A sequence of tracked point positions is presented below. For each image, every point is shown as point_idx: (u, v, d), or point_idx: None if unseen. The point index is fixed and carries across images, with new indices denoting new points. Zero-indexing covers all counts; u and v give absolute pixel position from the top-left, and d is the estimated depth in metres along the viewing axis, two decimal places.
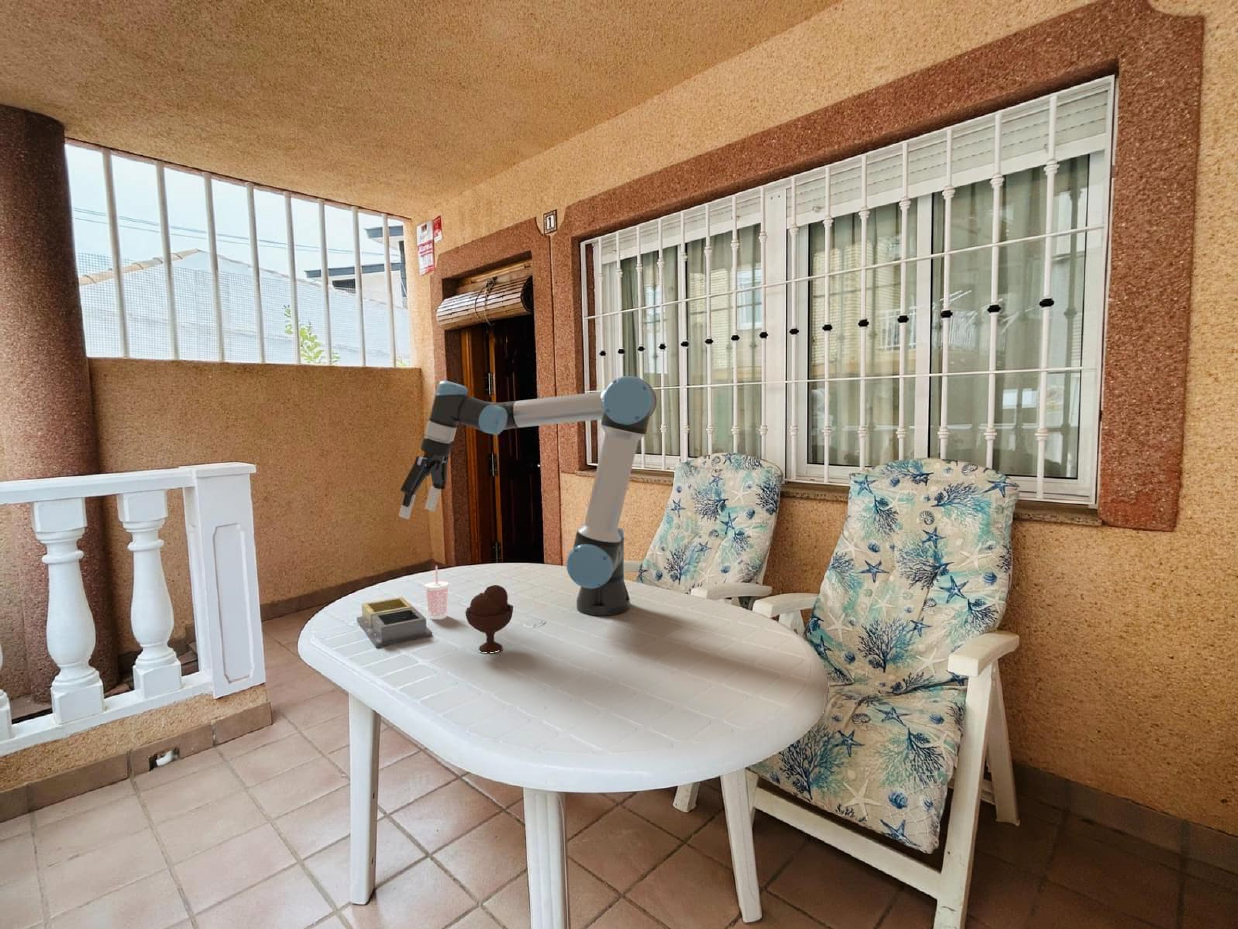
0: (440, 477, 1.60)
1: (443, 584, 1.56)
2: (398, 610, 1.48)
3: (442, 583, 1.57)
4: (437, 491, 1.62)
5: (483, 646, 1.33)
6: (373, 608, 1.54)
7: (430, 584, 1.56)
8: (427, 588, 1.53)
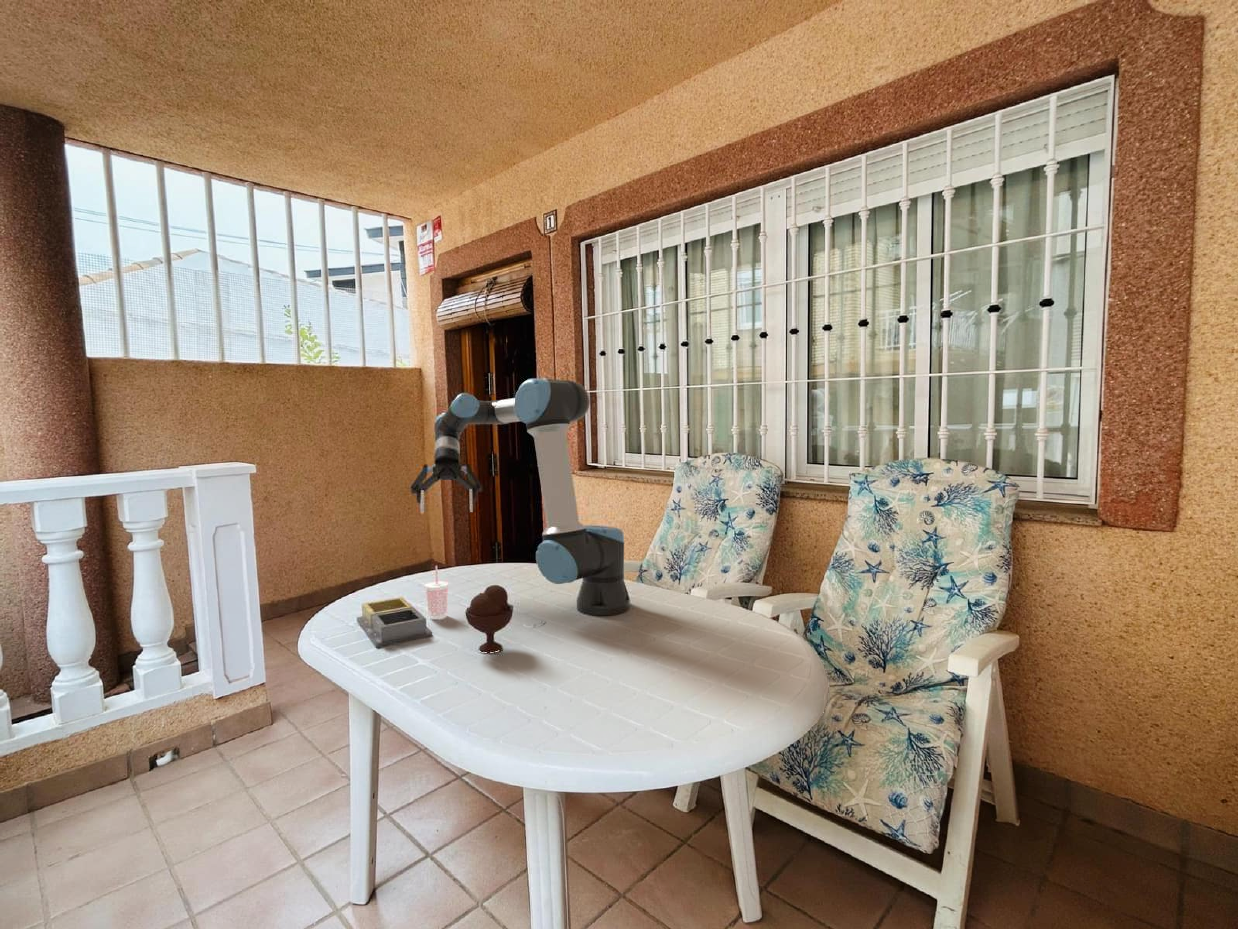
0: (465, 479, 1.74)
1: (443, 584, 1.56)
2: (398, 610, 1.48)
3: (442, 583, 1.57)
4: (469, 491, 1.71)
5: (483, 646, 1.33)
6: (373, 608, 1.54)
7: (430, 584, 1.56)
8: (427, 588, 1.53)
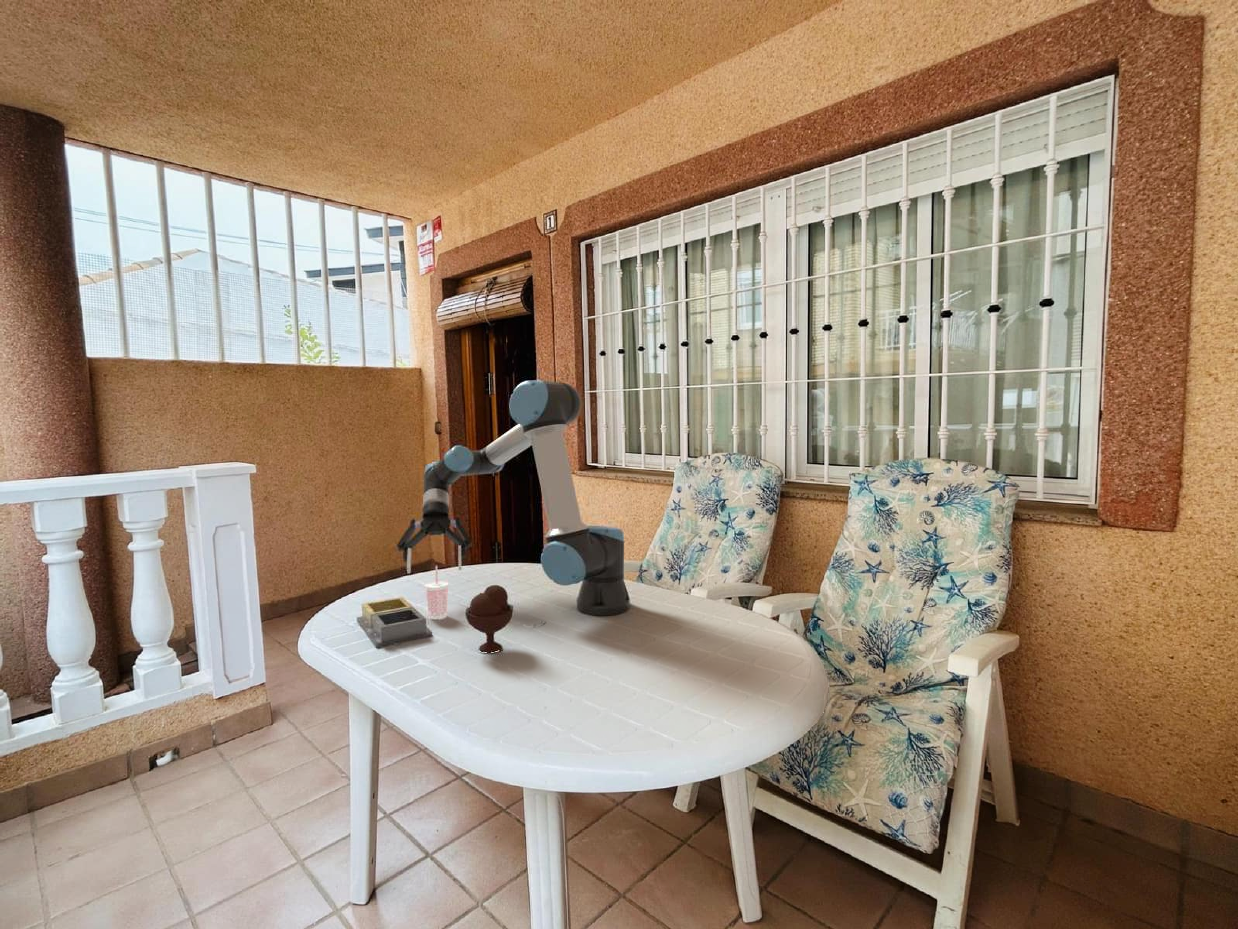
0: (454, 535, 1.67)
1: (443, 584, 1.56)
2: (398, 610, 1.48)
3: (442, 583, 1.57)
4: (458, 548, 1.65)
5: (483, 646, 1.33)
6: (373, 608, 1.54)
7: (430, 584, 1.56)
8: (427, 588, 1.53)
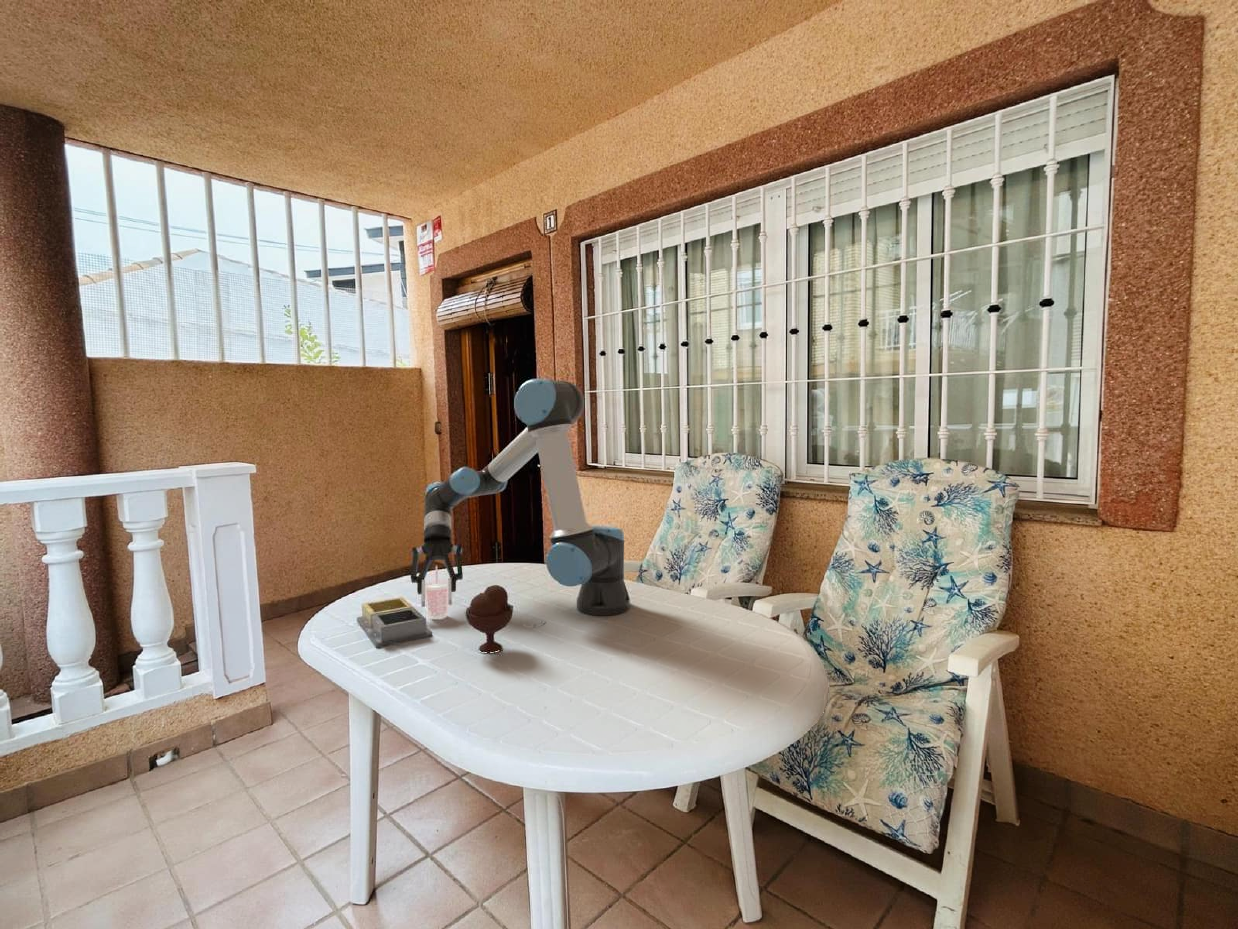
0: (449, 564, 1.59)
1: (443, 584, 1.56)
2: (398, 610, 1.48)
3: (442, 583, 1.57)
4: (448, 580, 1.56)
5: (483, 646, 1.33)
6: (373, 608, 1.54)
7: (430, 584, 1.56)
8: (427, 588, 1.53)
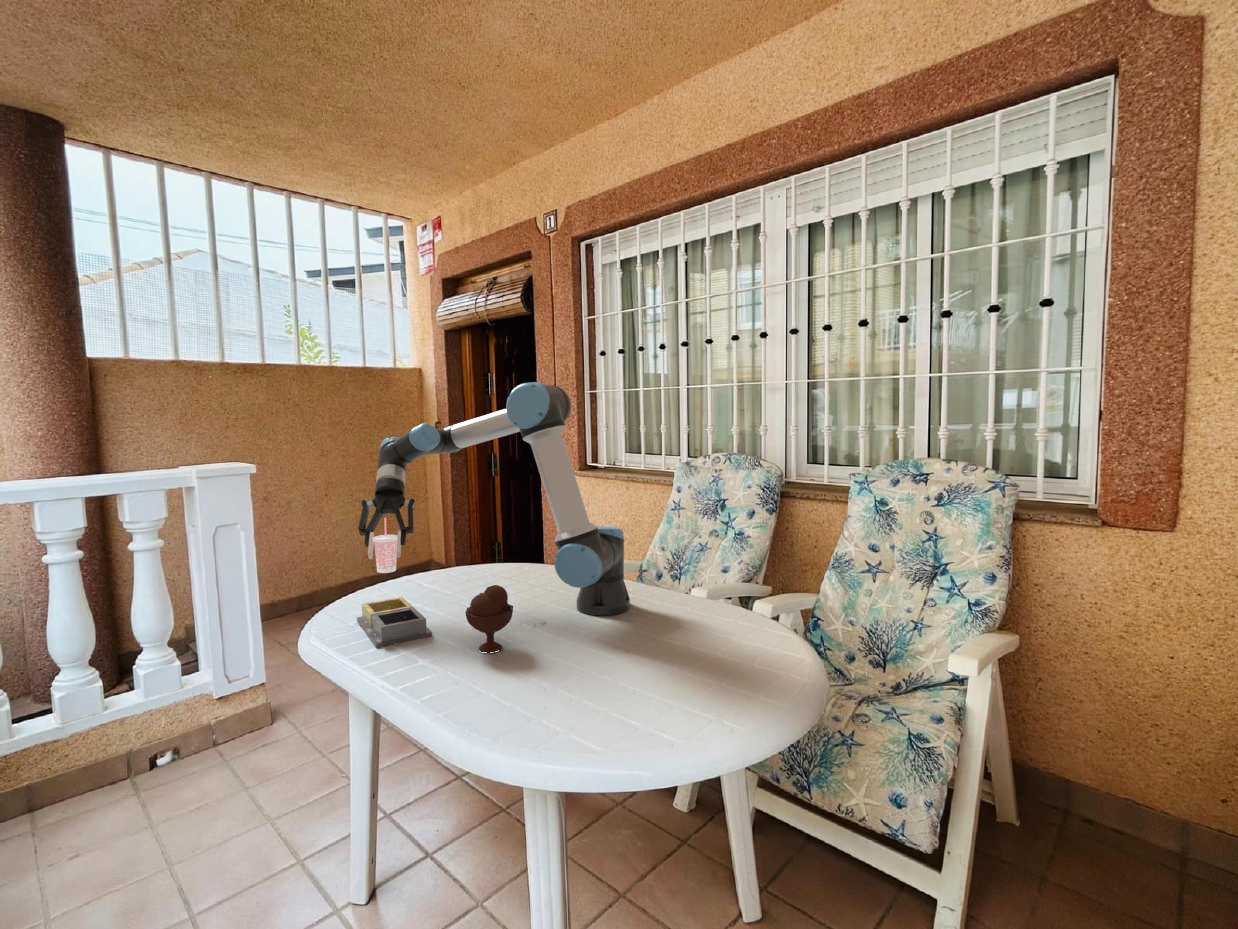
0: (399, 517, 1.54)
1: (392, 537, 1.51)
2: (398, 610, 1.48)
3: (391, 536, 1.52)
4: None
5: (483, 646, 1.33)
6: (373, 608, 1.54)
7: (379, 537, 1.51)
8: (375, 540, 1.48)
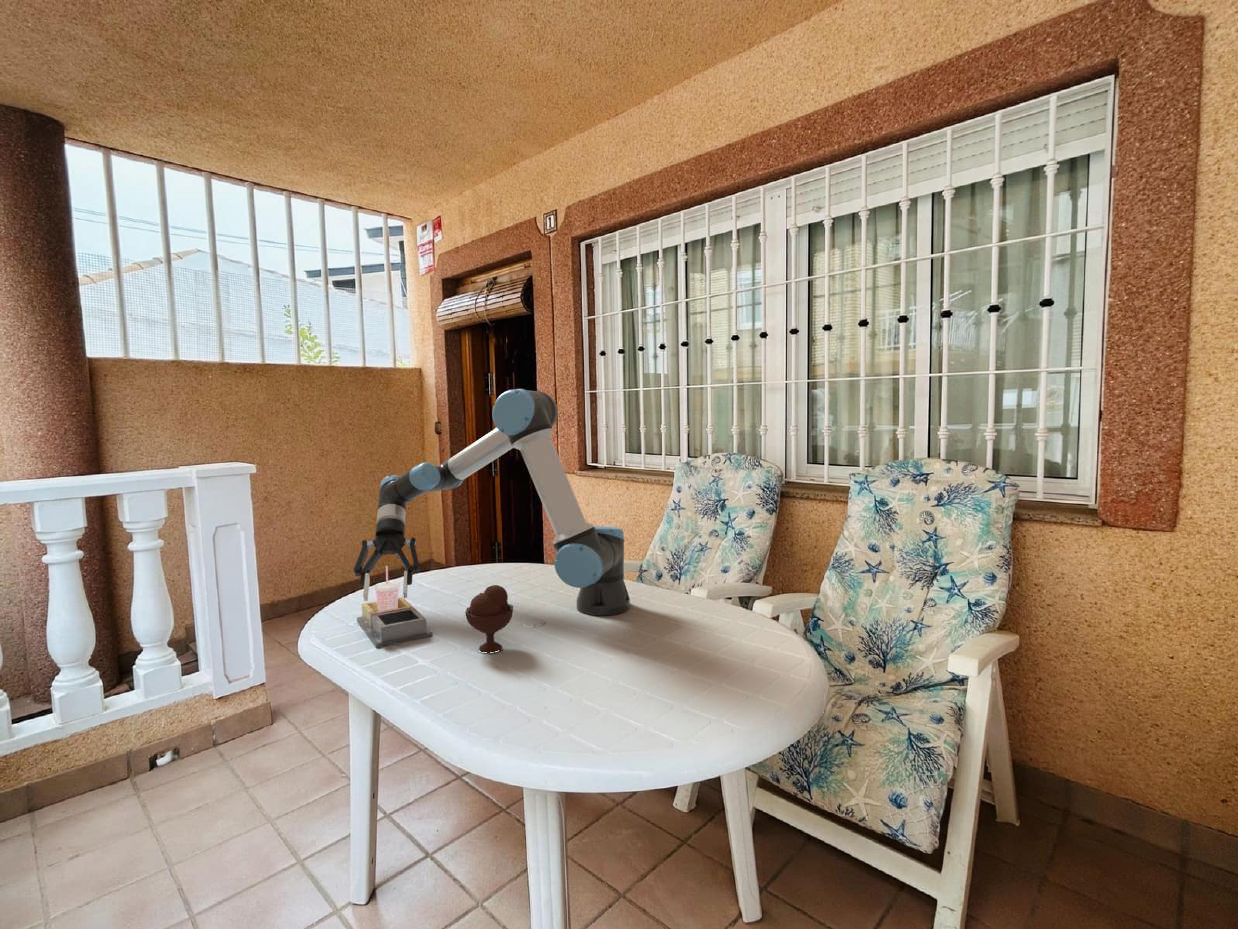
0: (403, 557, 1.55)
1: (394, 584, 1.52)
2: (398, 610, 1.48)
3: (393, 583, 1.53)
4: (404, 573, 1.52)
5: (483, 646, 1.33)
6: (373, 608, 1.54)
7: (380, 584, 1.52)
8: (376, 589, 1.49)
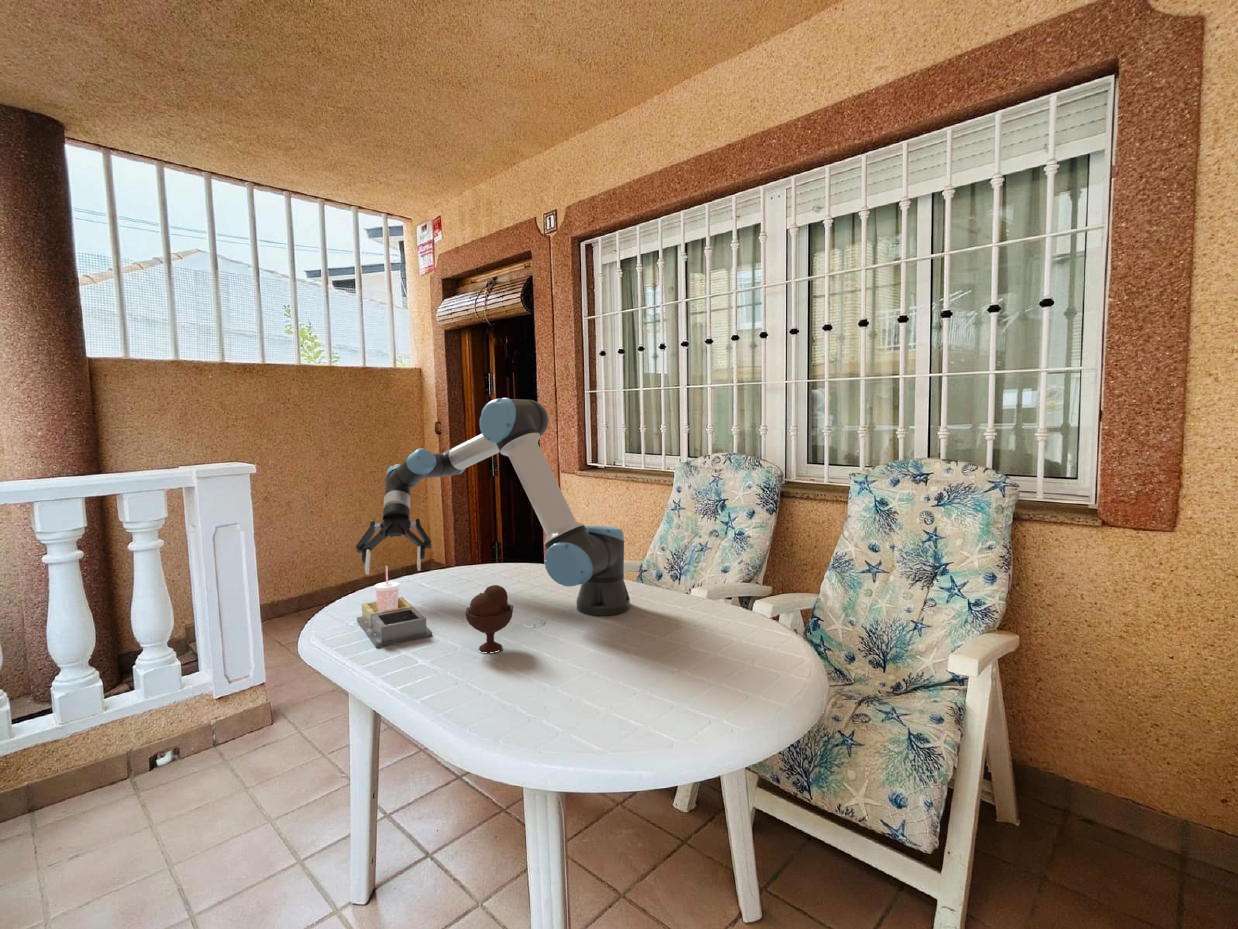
0: (413, 536, 1.69)
1: (394, 584, 1.52)
2: (398, 610, 1.48)
3: (393, 583, 1.53)
4: None
5: (483, 646, 1.33)
6: (373, 608, 1.54)
7: (380, 584, 1.52)
8: (376, 589, 1.49)
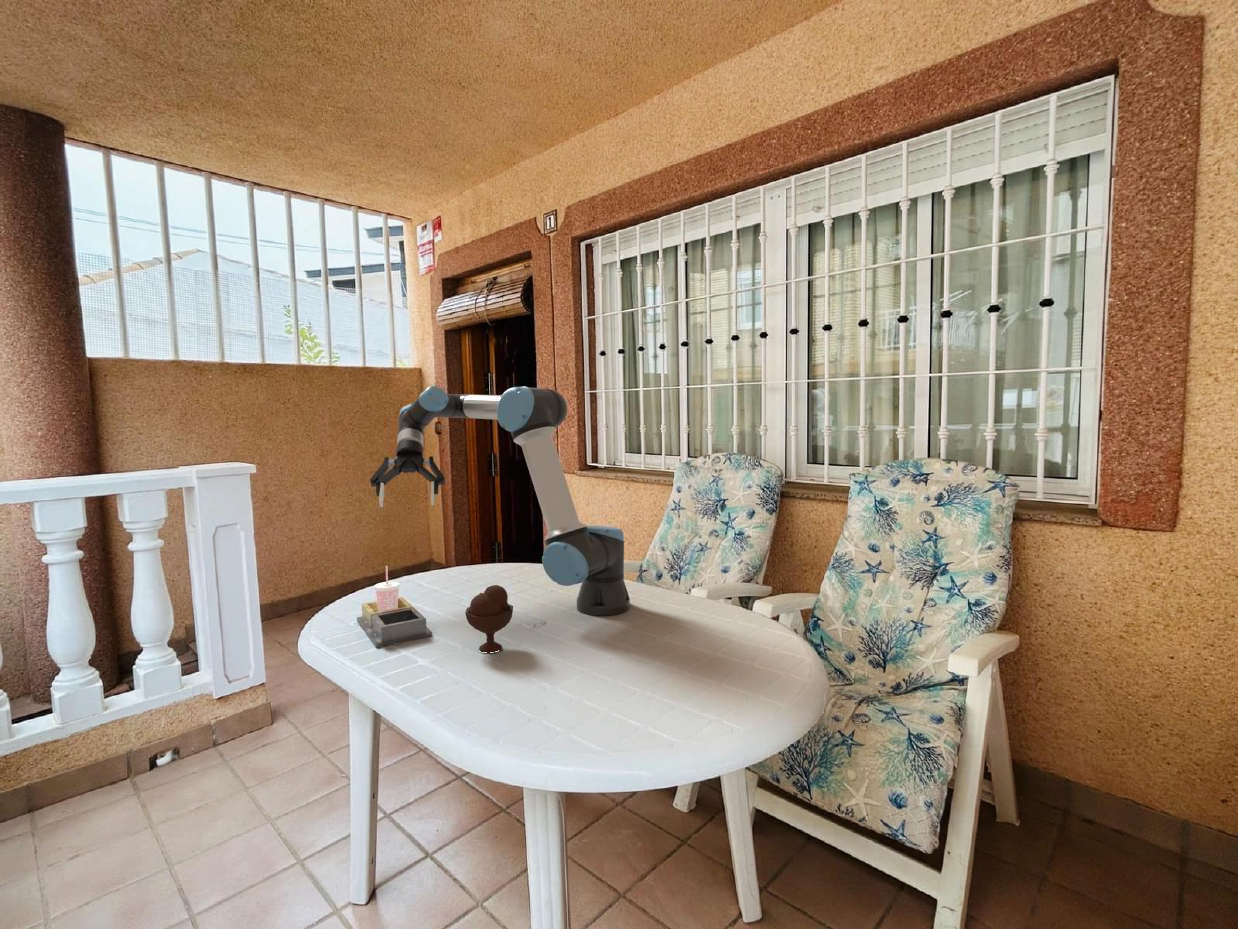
0: (427, 472, 1.69)
1: (394, 584, 1.52)
2: (398, 610, 1.48)
3: (393, 583, 1.53)
4: (431, 484, 1.67)
5: (483, 646, 1.33)
6: (373, 608, 1.54)
7: (380, 584, 1.52)
8: (376, 589, 1.49)
